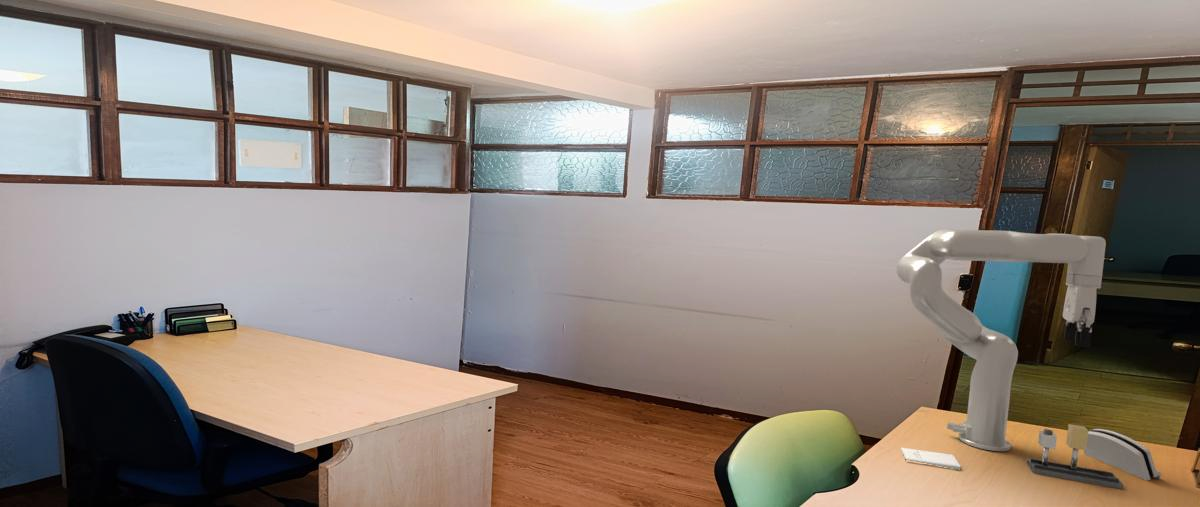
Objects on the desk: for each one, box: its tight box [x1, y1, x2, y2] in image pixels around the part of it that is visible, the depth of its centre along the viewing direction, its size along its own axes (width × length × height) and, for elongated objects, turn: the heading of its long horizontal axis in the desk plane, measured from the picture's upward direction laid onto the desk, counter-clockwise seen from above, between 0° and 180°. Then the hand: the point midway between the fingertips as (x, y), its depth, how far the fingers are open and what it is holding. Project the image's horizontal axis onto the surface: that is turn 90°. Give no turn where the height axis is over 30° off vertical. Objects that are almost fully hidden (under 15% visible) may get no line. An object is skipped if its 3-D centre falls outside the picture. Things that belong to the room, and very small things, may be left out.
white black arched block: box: [1083, 428, 1162, 481], centre depth 162 cm, size 17×5×10 cm, turn 11°
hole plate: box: [1026, 428, 1124, 490], centre depth 154 cm, size 18×7×10 cm, turn 66°
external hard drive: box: [900, 447, 962, 471], centre depth 160 cm, size 2×8×12 cm
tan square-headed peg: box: [1065, 423, 1089, 469], centre depth 154 cm, size 3×3×11 cm
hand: (1076, 343), depth 169 cm, fingers open, 9 cm apart
